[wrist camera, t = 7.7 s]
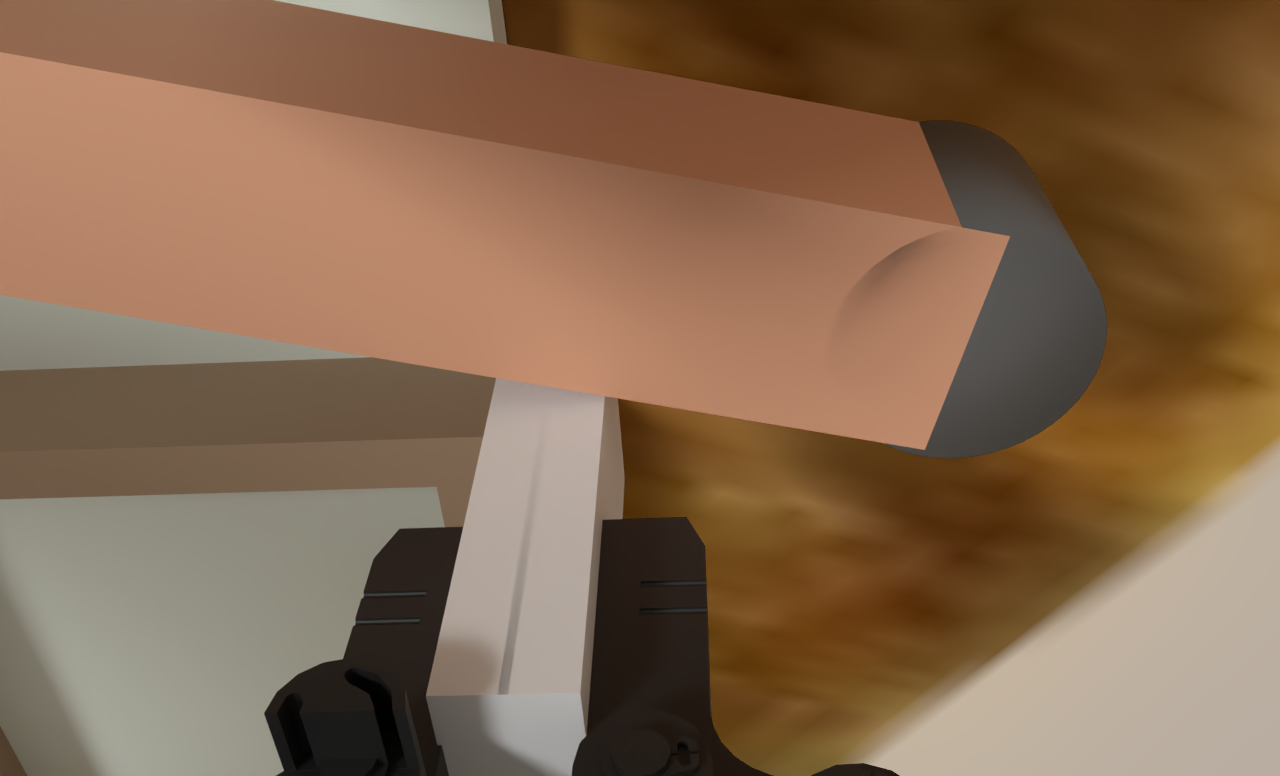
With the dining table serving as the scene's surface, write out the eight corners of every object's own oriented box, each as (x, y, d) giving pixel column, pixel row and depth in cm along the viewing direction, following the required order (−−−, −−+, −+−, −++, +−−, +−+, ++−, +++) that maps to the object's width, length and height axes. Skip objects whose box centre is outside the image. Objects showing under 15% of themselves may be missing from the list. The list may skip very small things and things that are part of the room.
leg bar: (-245, 143, 16) (-410, 247, 14) (-316, -136, 14) (-524, -73, 12) (990, 359, 18) (1039, 489, 15) (1086, 130, 16) (1161, 237, 13)
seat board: (26, 801, 31) (-47, 939, 28) (-546, -229, 18) (-812, -184, 15) (602, 794, 30) (593, 936, 27) (463, -301, 17) (411, -268, 14)
